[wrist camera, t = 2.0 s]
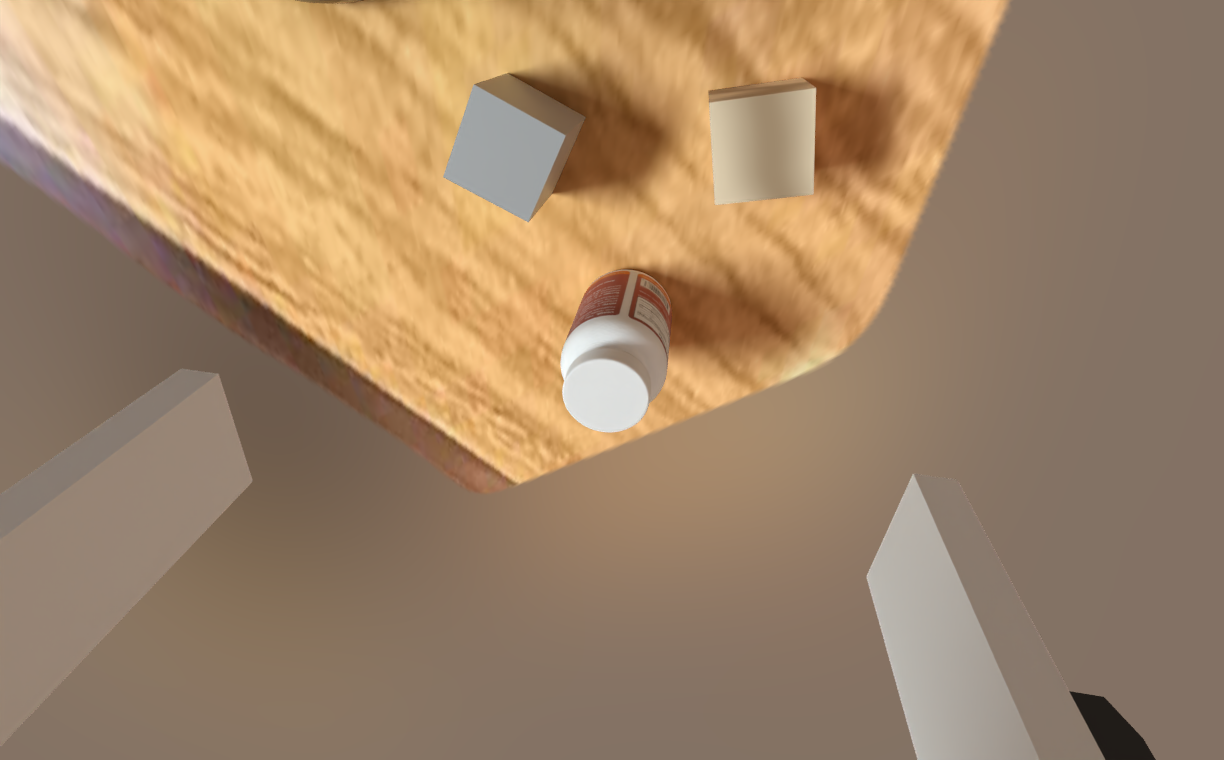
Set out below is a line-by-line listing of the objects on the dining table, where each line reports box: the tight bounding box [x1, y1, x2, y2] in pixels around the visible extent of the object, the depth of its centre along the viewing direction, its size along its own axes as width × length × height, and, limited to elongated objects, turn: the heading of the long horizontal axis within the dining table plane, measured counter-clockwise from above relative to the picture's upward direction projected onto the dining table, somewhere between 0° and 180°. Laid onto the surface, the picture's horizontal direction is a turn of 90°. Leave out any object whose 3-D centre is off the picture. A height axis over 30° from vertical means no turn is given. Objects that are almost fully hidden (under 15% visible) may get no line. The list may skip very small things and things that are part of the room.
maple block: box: [709, 78, 816, 205], centre depth 32 cm, size 5×5×5 cm
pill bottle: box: [561, 269, 672, 432], centre depth 37 cm, size 6×6×11 cm
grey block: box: [443, 73, 586, 222], centre depth 34 cm, size 5×5×6 cm
